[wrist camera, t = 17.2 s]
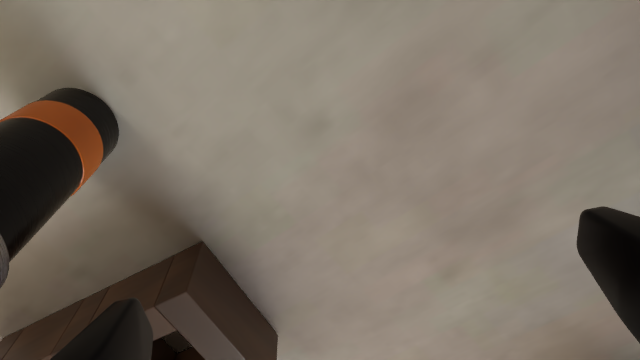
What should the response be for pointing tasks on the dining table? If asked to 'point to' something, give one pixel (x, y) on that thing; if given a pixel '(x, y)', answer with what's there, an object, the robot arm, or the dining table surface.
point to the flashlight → (48, 161)
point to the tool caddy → (165, 314)
